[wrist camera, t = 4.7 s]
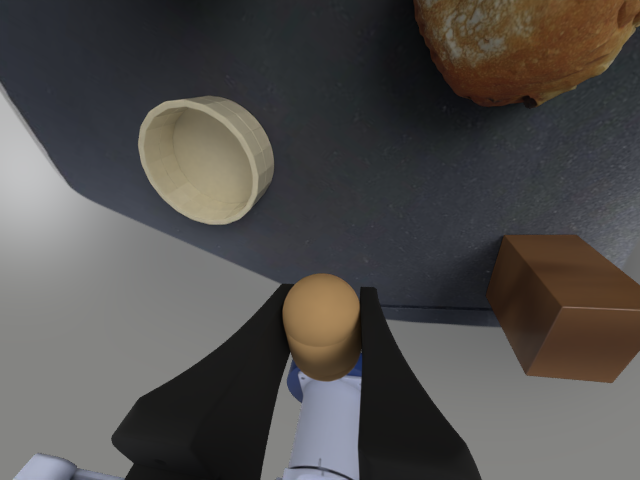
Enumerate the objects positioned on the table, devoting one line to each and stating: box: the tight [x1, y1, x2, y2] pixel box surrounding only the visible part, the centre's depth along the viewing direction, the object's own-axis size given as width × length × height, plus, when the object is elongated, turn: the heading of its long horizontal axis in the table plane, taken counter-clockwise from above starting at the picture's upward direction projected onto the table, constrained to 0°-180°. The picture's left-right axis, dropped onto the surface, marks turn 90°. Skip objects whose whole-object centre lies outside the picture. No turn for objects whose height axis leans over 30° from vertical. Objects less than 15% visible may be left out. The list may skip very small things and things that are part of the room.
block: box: [486, 235, 640, 383], centre depth 18 cm, size 6×5×8 cm
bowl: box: [138, 96, 274, 225], centre depth 19 cm, size 8×8×4 cm
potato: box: [283, 274, 362, 382], centre depth 11 cm, size 5×3×3 cm, turn 6°
